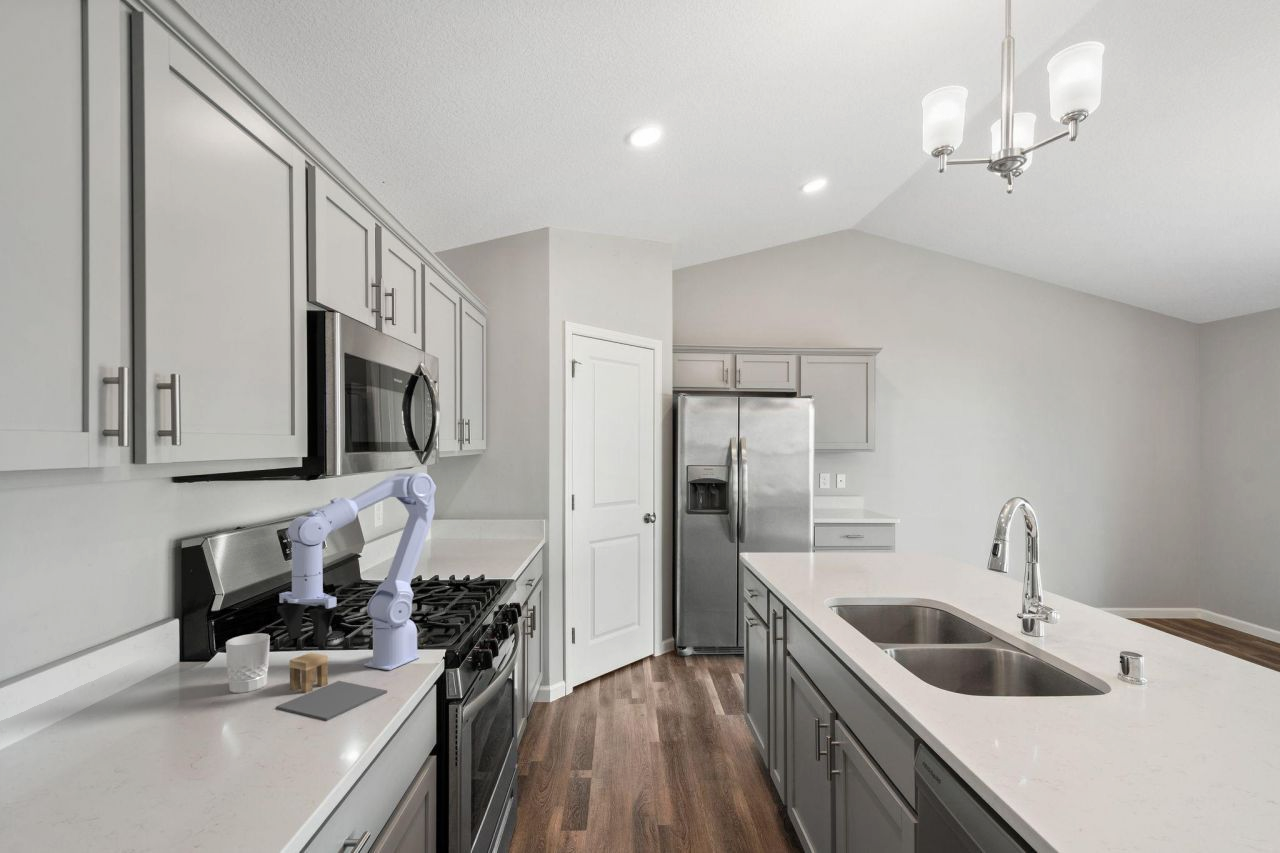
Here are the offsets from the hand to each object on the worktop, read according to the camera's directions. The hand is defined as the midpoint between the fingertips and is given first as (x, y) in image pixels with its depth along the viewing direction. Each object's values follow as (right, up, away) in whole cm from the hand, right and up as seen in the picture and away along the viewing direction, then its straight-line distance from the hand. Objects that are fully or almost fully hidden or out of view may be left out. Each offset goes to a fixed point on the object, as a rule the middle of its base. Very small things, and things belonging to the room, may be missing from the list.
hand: (307, 639), depth 132 cm
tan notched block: (0, -10, 0) cm, 10 cm away
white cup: (-13, -11, +1) cm, 17 cm away
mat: (+9, -10, -7) cm, 15 cm away
